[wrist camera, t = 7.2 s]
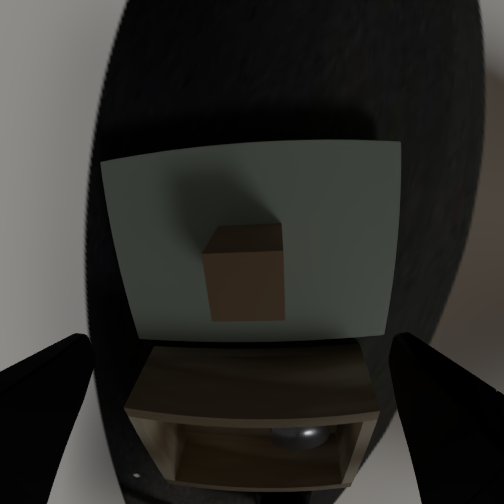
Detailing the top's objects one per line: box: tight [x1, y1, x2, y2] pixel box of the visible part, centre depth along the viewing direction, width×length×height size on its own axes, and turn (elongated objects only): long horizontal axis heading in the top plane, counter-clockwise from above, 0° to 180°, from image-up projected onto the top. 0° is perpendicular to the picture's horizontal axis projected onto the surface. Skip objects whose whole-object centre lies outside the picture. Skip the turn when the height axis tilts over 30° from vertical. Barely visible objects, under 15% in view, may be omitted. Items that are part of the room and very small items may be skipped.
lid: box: [100, 139, 401, 342], centre depth 15 cm, size 11×15×6 cm
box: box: [124, 344, 380, 492], centre depth 19 cm, size 10×14×6 cm
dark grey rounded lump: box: [270, 425, 330, 451], centre depth 19 cm, size 4×4×3 cm
